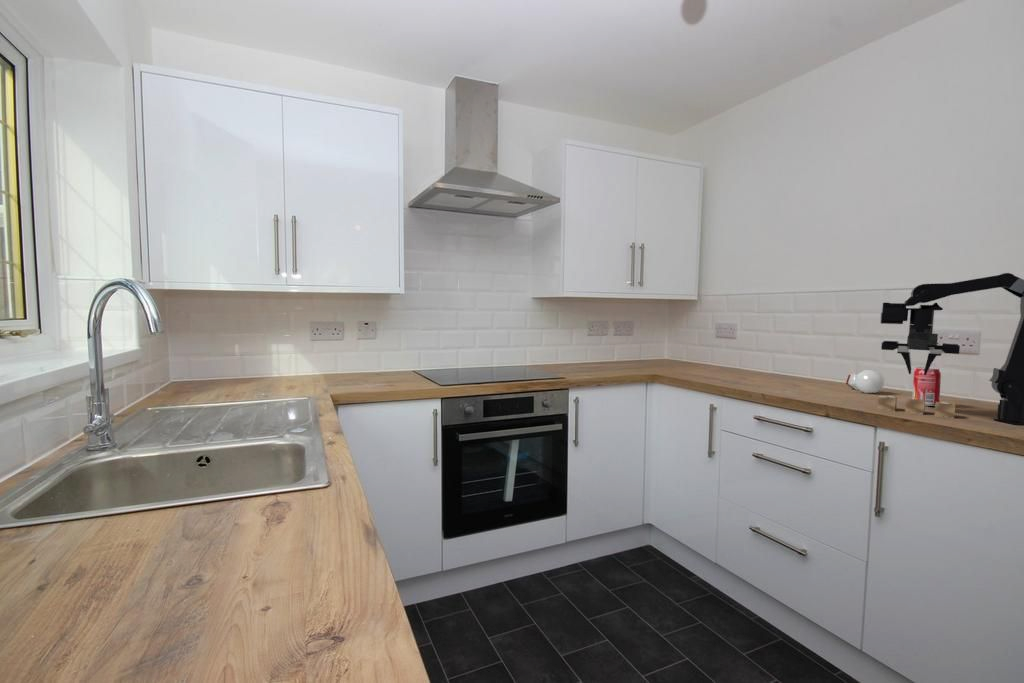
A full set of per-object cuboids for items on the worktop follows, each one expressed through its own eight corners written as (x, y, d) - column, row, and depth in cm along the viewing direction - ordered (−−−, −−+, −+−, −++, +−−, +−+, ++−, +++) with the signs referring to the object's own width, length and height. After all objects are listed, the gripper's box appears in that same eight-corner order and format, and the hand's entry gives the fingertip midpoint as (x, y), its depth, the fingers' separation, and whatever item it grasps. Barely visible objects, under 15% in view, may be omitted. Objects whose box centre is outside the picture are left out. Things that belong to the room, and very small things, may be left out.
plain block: (924, 413, 157) (925, 400, 157) (923, 415, 153) (924, 402, 153) (906, 410, 160) (907, 398, 160) (905, 412, 156) (905, 400, 156)
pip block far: (896, 409, 161) (897, 396, 161) (894, 411, 158) (895, 398, 158) (879, 407, 164) (879, 394, 164) (877, 409, 161) (878, 396, 161)
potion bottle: (874, 399, 191) (850, 397, 206) (895, 384, 190) (870, 383, 205) (859, 378, 191) (836, 378, 206) (880, 364, 191) (856, 365, 206)
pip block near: (954, 416, 152) (955, 402, 152) (954, 418, 149) (955, 404, 148) (935, 414, 155) (936, 400, 155) (934, 416, 152) (935, 402, 151)
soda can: (944, 408, 166) (946, 369, 165) (919, 406, 167) (922, 368, 166) (930, 404, 173) (933, 367, 172) (907, 403, 174) (909, 366, 173)
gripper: (881, 323, 155) (877, 373, 156) (961, 326, 143) (957, 380, 144) (885, 323, 163) (881, 371, 164) (961, 325, 151) (957, 377, 152)
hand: (917, 374), depth 156 cm, fingers open, 3 cm apart
